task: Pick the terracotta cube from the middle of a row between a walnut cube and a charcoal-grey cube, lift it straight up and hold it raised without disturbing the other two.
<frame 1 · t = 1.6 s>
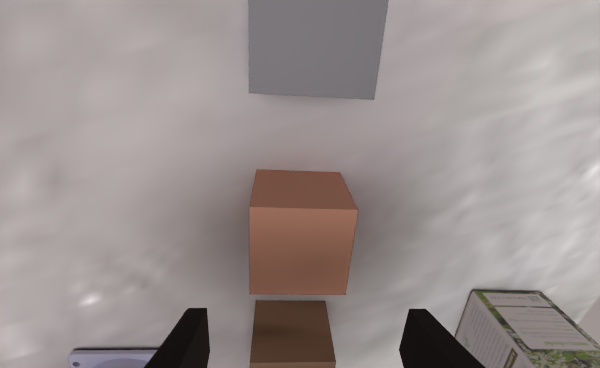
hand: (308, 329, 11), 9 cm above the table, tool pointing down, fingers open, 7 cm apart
terracotta cube: (296, 207, 20), on the table
syrup box: (493, 314, 25), on the table
walnut cube: (289, 325, 24), on the table
charcoal grey cube: (307, 33, 16), on the table
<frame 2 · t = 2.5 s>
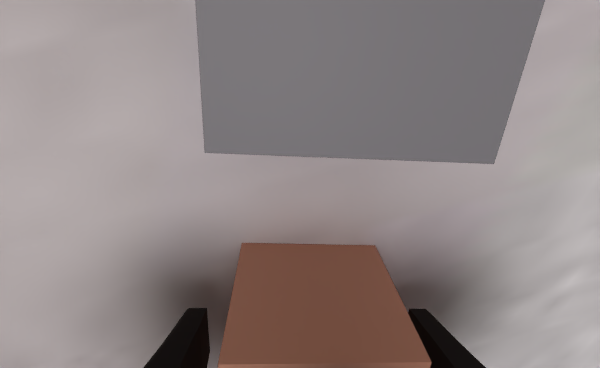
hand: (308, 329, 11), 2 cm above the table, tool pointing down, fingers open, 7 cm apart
terracotta cube: (304, 295, 13), on the table
charcoal grey cube: (327, 19, 9), on the table
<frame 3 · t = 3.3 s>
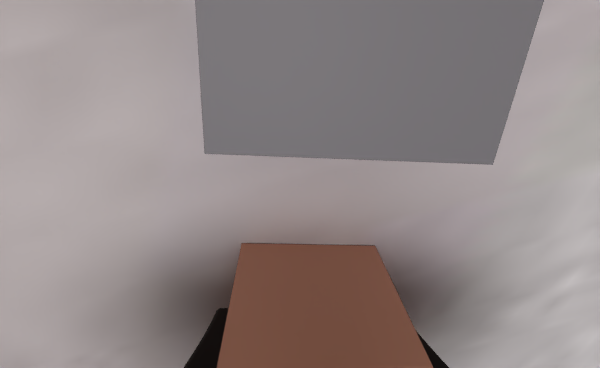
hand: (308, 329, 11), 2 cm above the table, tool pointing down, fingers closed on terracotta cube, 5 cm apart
terracotta cube: (304, 296, 13), on the table, touching gripper
charcoal grey cube: (327, 20, 9), on the table
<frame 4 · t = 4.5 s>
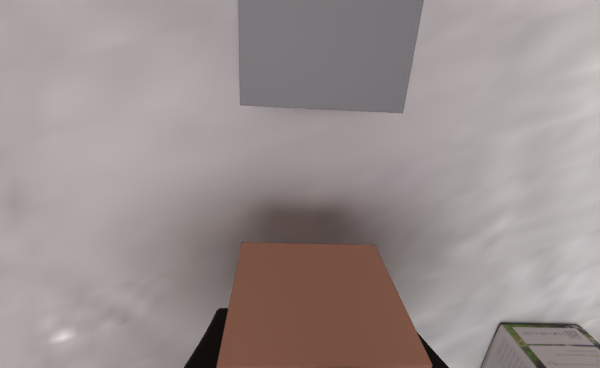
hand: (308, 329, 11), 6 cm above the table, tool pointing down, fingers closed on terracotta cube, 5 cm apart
terracotta cube: (304, 296, 13), point 5 cm above the table, touching gripper
syrup box: (522, 349, 22), on the table
charcoal grey cube: (313, 27, 13), on the table
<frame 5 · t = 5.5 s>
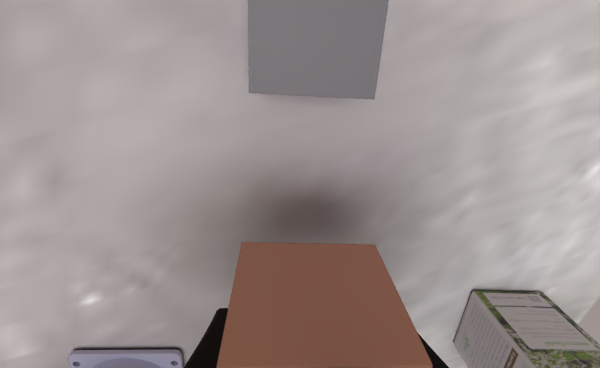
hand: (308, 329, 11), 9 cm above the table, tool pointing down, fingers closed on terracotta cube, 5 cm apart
terracotta cube: (304, 295, 13), point 8 cm above the table, touching gripper
syrup box: (493, 314, 25), on the table
charcoal grey cube: (307, 32, 16), on the table
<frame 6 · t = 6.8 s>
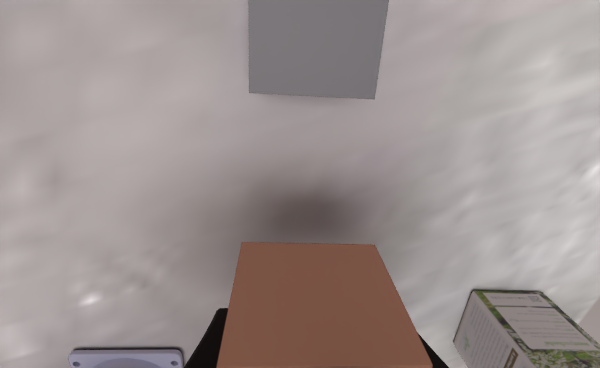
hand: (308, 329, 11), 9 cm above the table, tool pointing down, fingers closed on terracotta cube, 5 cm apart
terracotta cube: (304, 295, 13), point 8 cm above the table, touching gripper
syrup box: (494, 314, 25), on the table
charcoal grey cube: (307, 32, 16), on the table
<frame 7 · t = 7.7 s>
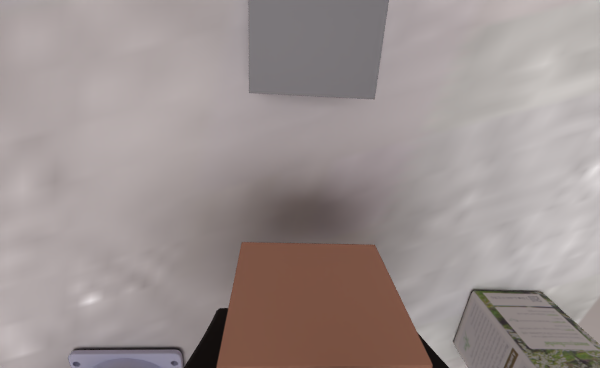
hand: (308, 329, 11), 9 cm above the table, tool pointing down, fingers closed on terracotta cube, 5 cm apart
terracotta cube: (304, 295, 13), point 8 cm above the table, touching gripper
syrup box: (493, 314, 25), on the table
charcoal grey cube: (307, 32, 16), on the table
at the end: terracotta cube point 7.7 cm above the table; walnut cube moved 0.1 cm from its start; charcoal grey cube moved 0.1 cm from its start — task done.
